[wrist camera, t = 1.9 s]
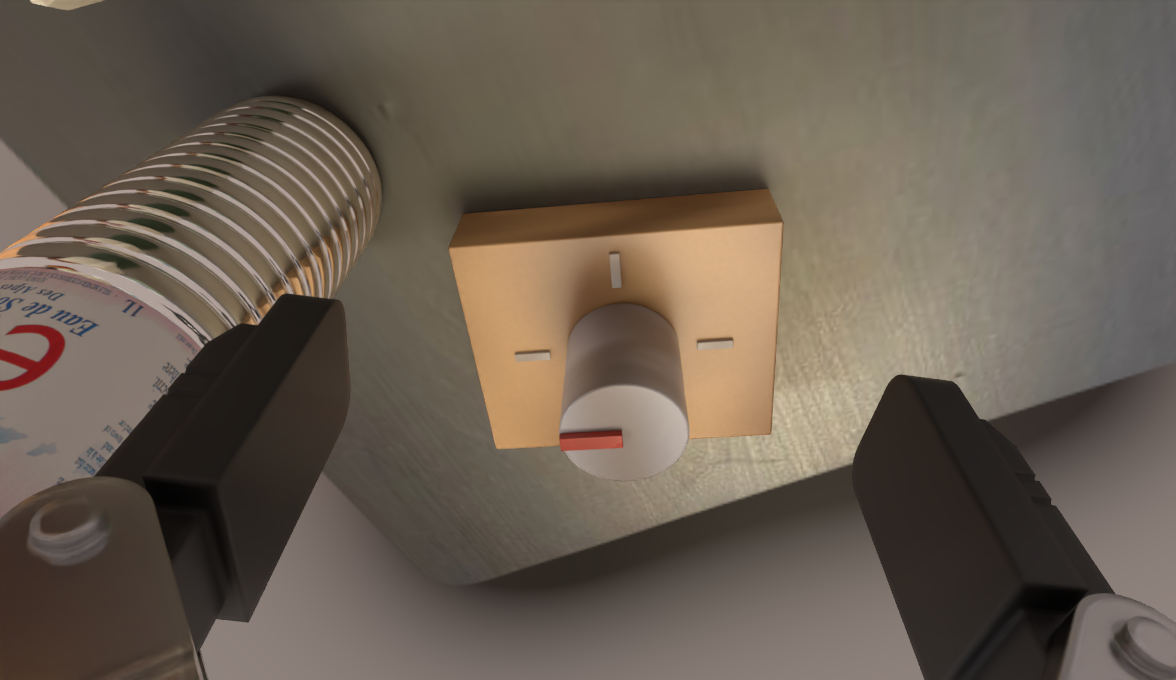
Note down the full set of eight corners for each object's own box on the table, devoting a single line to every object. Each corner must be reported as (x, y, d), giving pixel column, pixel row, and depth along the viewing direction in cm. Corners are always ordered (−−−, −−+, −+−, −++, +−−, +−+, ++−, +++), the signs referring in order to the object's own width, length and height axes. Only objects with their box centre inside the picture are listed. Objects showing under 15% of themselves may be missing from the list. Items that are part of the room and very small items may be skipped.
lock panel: (768, 187, 27) (785, 223, 24) (759, 391, 33) (772, 437, 30) (462, 213, 28) (446, 249, 25) (504, 406, 34) (495, 452, 31)
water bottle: (197, 213, 28) (-911, 1156, 8) (227, 53, 25) (-1668, 1012, 4) (361, 281, 30) (-201, 1218, 9) (412, 140, 26) (-317, 1149, 6)
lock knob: (677, 298, 26) (689, 386, 22) (680, 390, 29) (691, 485, 24) (560, 306, 27) (549, 394, 22) (573, 396, 29) (566, 491, 25)
